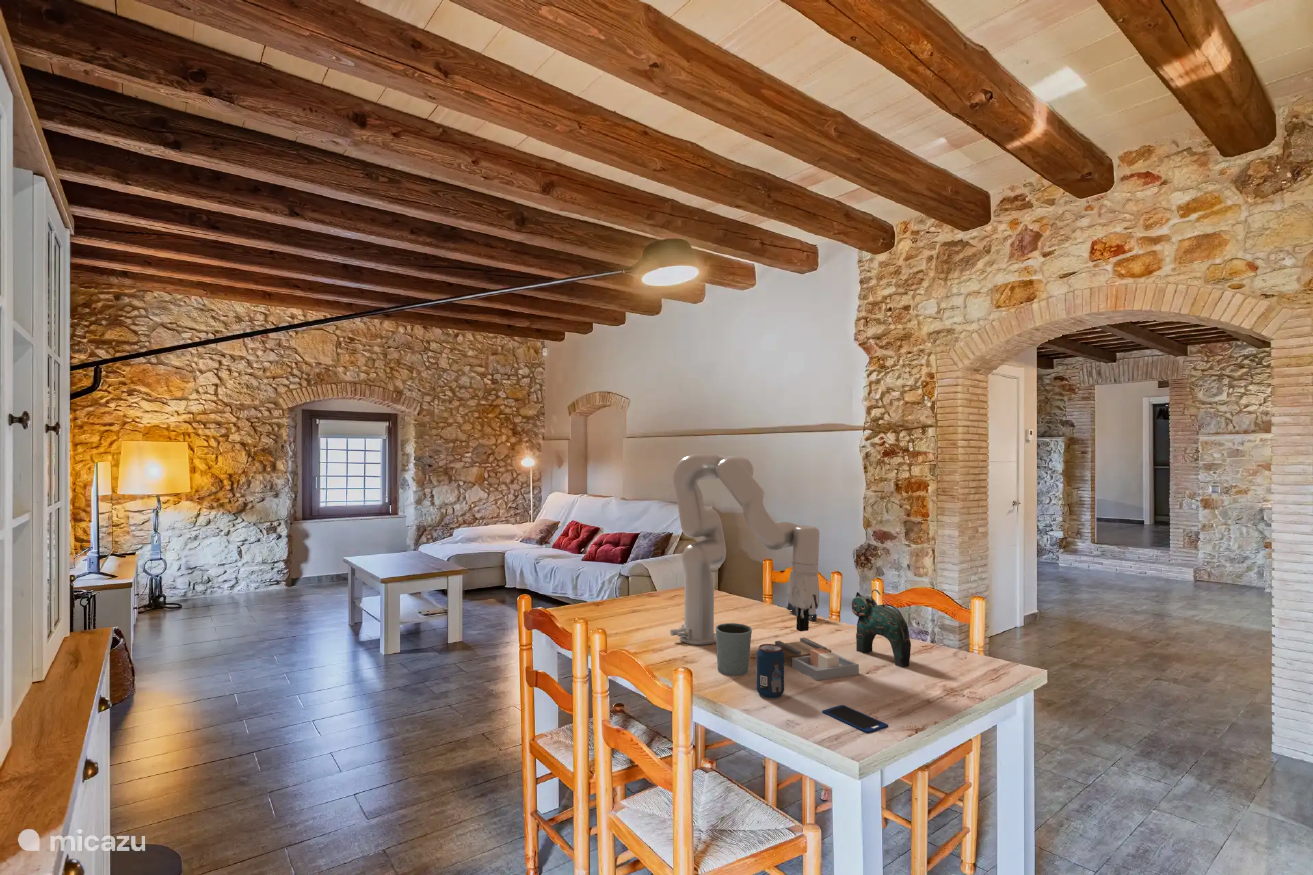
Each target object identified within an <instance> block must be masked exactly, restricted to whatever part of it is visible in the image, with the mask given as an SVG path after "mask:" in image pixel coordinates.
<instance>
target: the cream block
mask: <svg viewBox="0 0 1313 875" xmlns="http://www.w3.org/2000/svg"><path fill="white" fill-rule="evenodd" d="M839 656H840V655H839ZM839 656H836V655H834V654H832V652H831V653H830V652H829V653H822V654H818V669H823V668H830V667H836V666H839Z"/></svg>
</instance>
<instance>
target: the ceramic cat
mask: <svg viewBox="0 0 1313 875" xmlns="http://www.w3.org/2000/svg"><path fill="white" fill-rule="evenodd" d="M874 591H875V592H876V593H877V594H878V595H879V596H881V593H880V591H879V590H878V589H872V590H871V594H870V595H861V593H859V592H858V591H856V594H855V597H854V598H853V599H852V601H851V609H852V610H851V611H852V614H854V615H855V616H856V617H858V619H857V624H856V634H855V639H856V646H855V647H856V652H858V653H859V652H860V653H862V654H868V653H872V652H873V644H874V643H873V642H874V639H875V637H876V636H881V637H884V638H885V639H886V640H888V642H889V643H890V647H891V649H892V654H893V659H894V665H895V666H896V667H899V668H905V667H910V660H911V651H912V649H911V648H912V642H911V640H910V639H911V638H910V631H909V626H908V623H907V622H906V620H905V618H904V617H903V614H902V613H901V611H900V610H899V609H898V608H897V607H896V606H894V605H892V604H887V603H884V604H878V603H877V601H876V599H874V598H873V593H874Z"/></svg>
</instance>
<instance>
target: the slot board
mask: <svg viewBox="0 0 1313 875" xmlns="http://www.w3.org/2000/svg"><path fill="white" fill-rule="evenodd" d="M774 644H775V645H779V646H781V647H782V651H783V653H784V665H785V664H786V665H787V666H789V667H791V668H793V667H792V658H796V657H803V656H810V650H811V649H818V648H823V649H825V650H827V651H829V652H830V653H832V650H831V649H830V648H829V649H828V647H826V646H823V645H822V644H820V643H817V642H816V641H814V640H811V639H808V638H806V637H800V638H799V641H793V642H785V643H784V642H783V641H782V640H776V641H774Z"/></svg>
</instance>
